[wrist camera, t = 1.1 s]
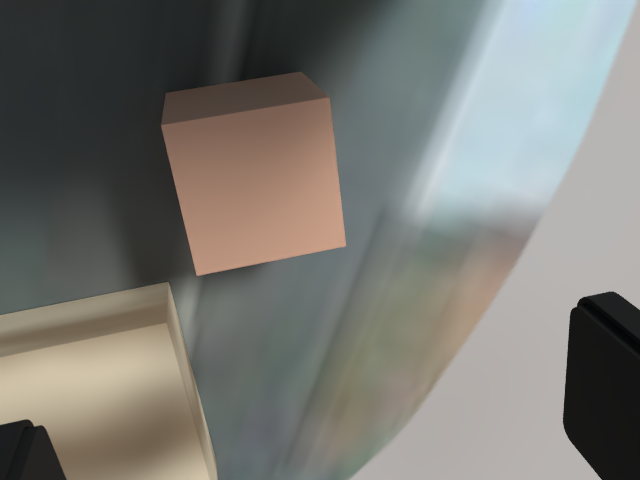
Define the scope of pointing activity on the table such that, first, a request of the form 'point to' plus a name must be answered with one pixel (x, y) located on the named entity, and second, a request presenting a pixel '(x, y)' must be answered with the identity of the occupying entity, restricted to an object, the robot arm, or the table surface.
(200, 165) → the cube
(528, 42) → the table surface
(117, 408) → the base
